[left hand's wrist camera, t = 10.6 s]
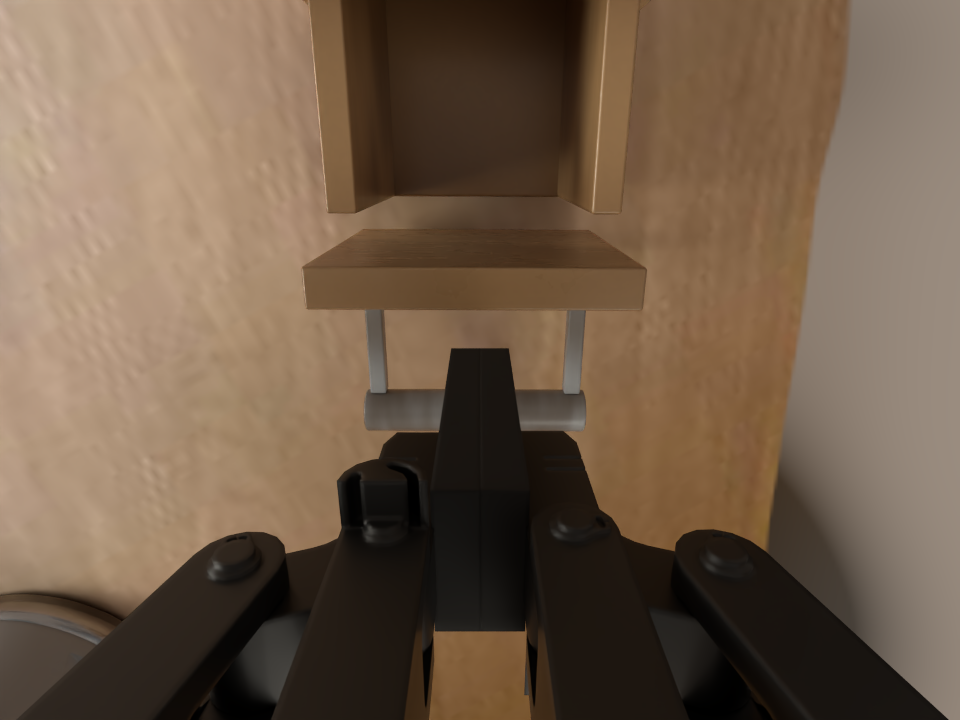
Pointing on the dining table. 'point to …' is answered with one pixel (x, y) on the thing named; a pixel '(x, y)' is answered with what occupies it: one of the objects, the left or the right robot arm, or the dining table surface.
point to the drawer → (474, 170)
